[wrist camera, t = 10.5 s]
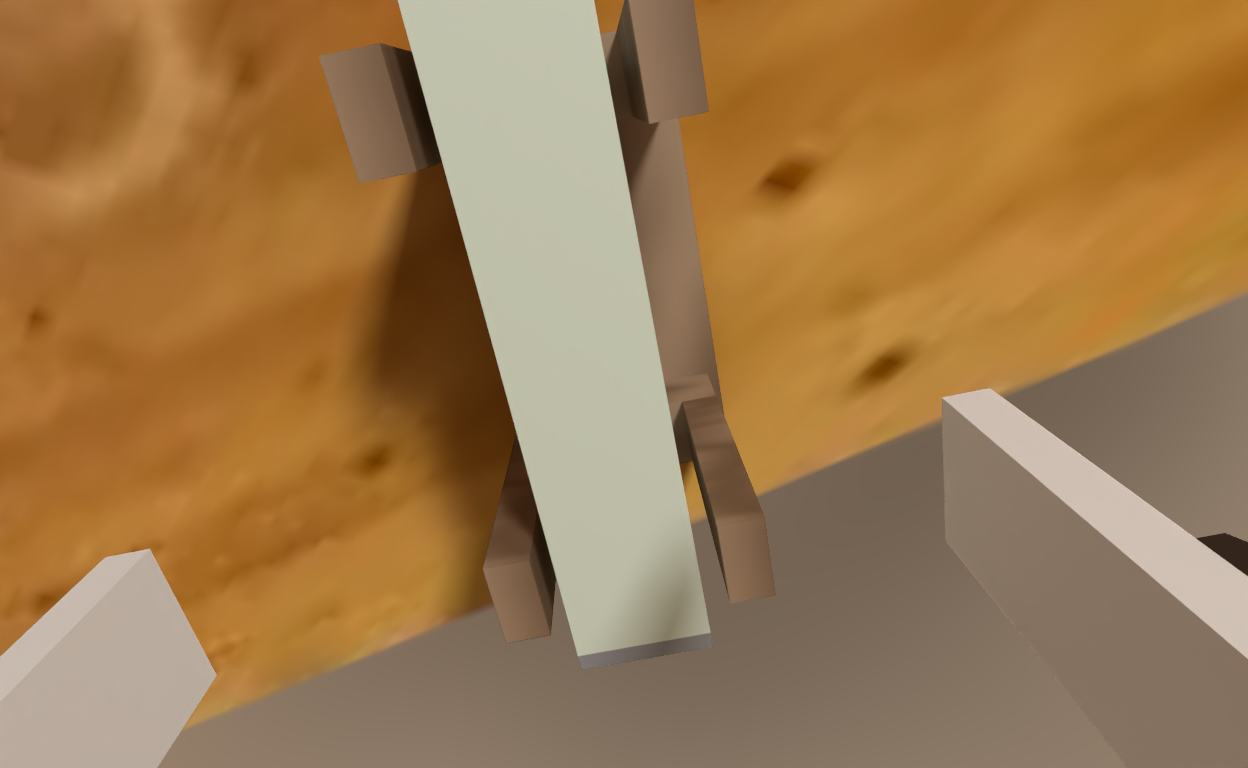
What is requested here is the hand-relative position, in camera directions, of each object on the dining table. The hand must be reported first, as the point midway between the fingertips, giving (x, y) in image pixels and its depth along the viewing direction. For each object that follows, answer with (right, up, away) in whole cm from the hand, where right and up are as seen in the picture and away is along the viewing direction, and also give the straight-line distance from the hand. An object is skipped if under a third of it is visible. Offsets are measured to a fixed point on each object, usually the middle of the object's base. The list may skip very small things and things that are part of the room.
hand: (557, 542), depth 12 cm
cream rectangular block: (0, +7, +18) cm, 19 cm away
